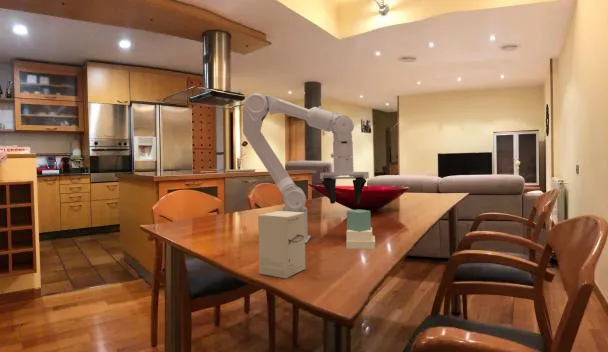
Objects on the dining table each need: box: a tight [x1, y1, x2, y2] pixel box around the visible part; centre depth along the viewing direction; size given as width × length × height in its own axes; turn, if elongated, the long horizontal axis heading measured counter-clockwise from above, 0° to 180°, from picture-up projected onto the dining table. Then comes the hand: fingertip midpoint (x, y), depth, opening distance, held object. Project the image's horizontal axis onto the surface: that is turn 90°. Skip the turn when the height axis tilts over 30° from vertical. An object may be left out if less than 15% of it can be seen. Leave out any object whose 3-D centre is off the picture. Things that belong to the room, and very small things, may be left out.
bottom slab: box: [345, 235, 376, 250], centre depth 102 cm, size 8×8×2 cm
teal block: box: [346, 208, 372, 232], centre depth 102 cm, size 4×4×5 cm
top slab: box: [346, 227, 373, 241], centre depth 102 cm, size 6×6×2 cm
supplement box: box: [257, 210, 306, 280], centre depth 80 cm, size 7×7×13 cm
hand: (344, 203), depth 110 cm, fingers open, 7 cm apart
